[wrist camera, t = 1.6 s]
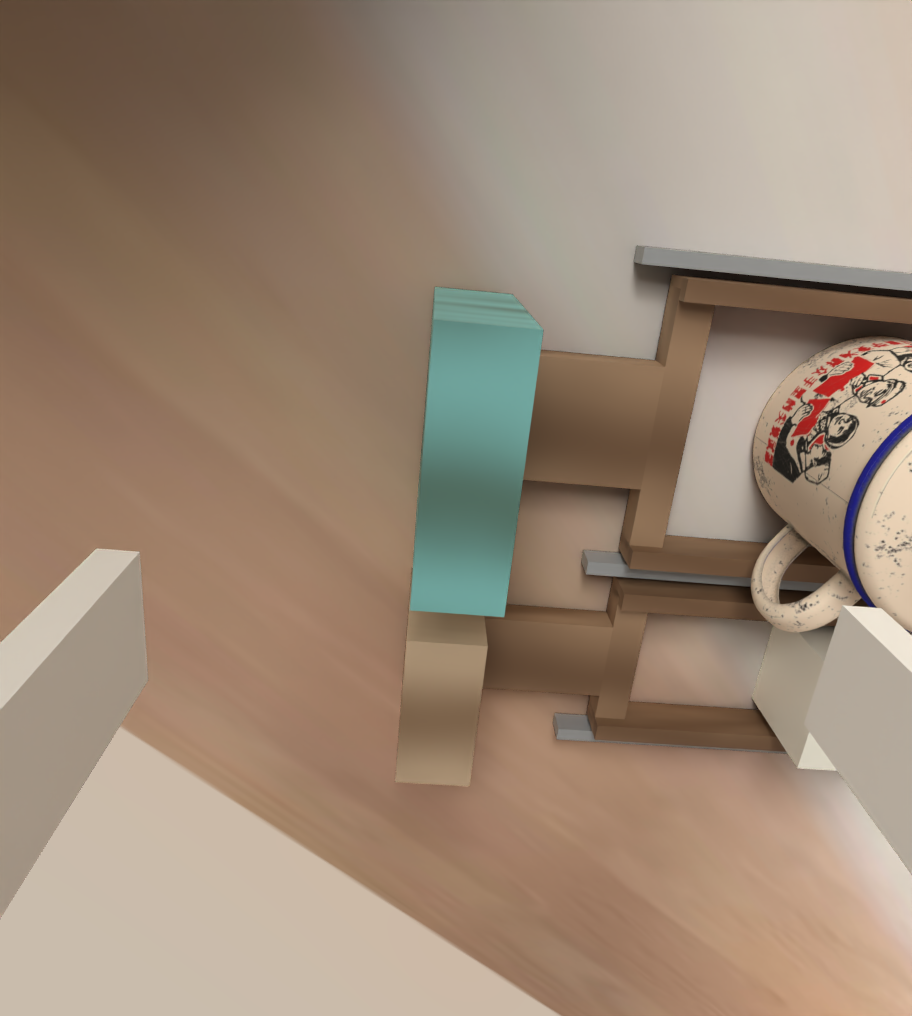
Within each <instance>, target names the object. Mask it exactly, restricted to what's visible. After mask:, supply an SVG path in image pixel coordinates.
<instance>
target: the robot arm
mask: <svg viewBox="0 0 912 1016" xmlns="http://www.w3.org/2000/svg"><path fill="white" fill-rule="evenodd" d="M147 682H148V668H147V653H146V638H145V623H144V608H143V592H142V577H141V562H140V552H137V551H123V550H110V549H97V548H96V549H95V550H94V551H93V552H92V553H91V554H90V555H89V556H88V557H87V558H86V559H85V560H84V561H83V562H82V563H81V564H80V565H79V566H78V567H77V568H76V569H75V570H74V571H73V572H72V573H71V574H70V575H69V576H68V577H67V578H66V579H65V580H64V581H63V582H62V583H61V584H60V585H59V586H58V587H57V588H56V589H55V590H54V591H53V592H52V593H51V594H50V595H49V596H47V597H46V598H45V599H44V600H43V601H42V602H41V603H40V604H39V605H38V606H37V607H36V608H35V609H34V610H33V611H32V612H31V613H30V614H29V615H28V616H27V617H26V618H25V619H24V620H23V621H22V622H21V623H20V624H19V625H18V626H17V627H16V628H15V629H14V630H13V631H12V632H11V633H10V634H9V635H8V636H7V637H6V638H5V639H4V640H3V641H2V642H1V643H0V918H1V917H2V915H3V914H4V912H5V910H6V909H7V907H8V905H9V904H10V902H11V900H12V899H13V897H14V896H15V894H16V892H17V891H18V889H19V888H20V886H21V885H22V883H23V881H24V880H25V878H26V876H27V875H28V873H29V872H30V870H31V868H32V867H33V865H34V863H35V862H36V860H37V859H38V857H39V855H40V854H41V852H42V851H43V849H44V847H45V846H46V844H47V843H48V841H49V839H50V838H51V836H52V835H53V833H54V831H55V830H56V828H57V826H58V825H59V823H60V822H61V820H62V818H63V817H64V815H65V814H66V812H67V810H68V809H69V807H70V806H71V804H72V802H73V801H74V799H75V798H76V796H77V794H78V793H79V791H80V789H81V788H82V786H83V785H84V783H85V781H86V780H87V778H88V777H89V775H90V773H91V772H92V770H93V769H94V767H95V765H96V764H97V762H98V760H99V759H100V757H101V756H102V754H103V752H104V751H105V749H106V748H107V746H108V744H109V743H110V741H111V740H112V738H113V736H114V735H115V733H116V731H117V730H118V728H119V727H120V725H121V723H122V722H123V720H124V719H125V717H126V715H127V714H128V712H129V711H130V709H131V707H132V706H133V704H134V702H135V701H136V699H137V698H138V696H139V694H140V693H141V691H142V690H143V688H144V686H145V685H146V683H147ZM804 725H805V726H806V728H807V729H808V731H809V732H810V733H811V735H812V736H813V738H814V739H815V740H816V742H817V743H818V745H819V746H820V747H821V749H822V750H823V752H824V753H825V754H826V756H827V757H828V759H829V760H830V761H831V763H832V764H833V766H834V767H835V768H836V770H837V771H838V773H839V774H840V775H841V777H842V778H843V780H844V781H845V782H846V784H847V785H848V787H849V788H850V789H851V791H852V792H853V794H854V795H855V796H856V798H857V799H858V801H859V802H860V803H861V805H862V806H863V808H864V809H865V810H866V812H867V813H868V815H869V816H870V817H871V819H872V820H873V822H874V823H875V824H876V826H877V827H878V828H879V830H880V831H881V833H882V834H883V835H884V837H885V838H886V840H887V841H888V842H889V844H890V845H891V847H892V848H893V849H894V851H895V852H896V854H897V855H898V856H899V858H900V859H901V861H902V862H903V863H904V865H905V866H906V868H907V869H908V870H909V872H910V873H911V875H912V635H911V634H909V633H908V632H907V631H906V630H905V629H904V628H903V627H902V626H901V625H899V624H898V623H897V622H896V621H895V620H894V619H893V618H892V617H890V616H889V615H888V614H887V613H886V612H885V611H884V610H883V609H881V608H872V607H859V606H846V605H842V608H841V611H840V614H839V617H838V620H837V623H836V626H835V629H834V633H833V636H832V639H831V642H830V645H829V648H828V651H827V654H826V657H825V660H824V663H823V666H822V669H821V673H820V676H819V679H818V682H817V685H816V688H815V691H814V694H813V697H812V700H811V703H810V706H809V709H808V713H807V716H806V719H805V722H804Z"/></svg>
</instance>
